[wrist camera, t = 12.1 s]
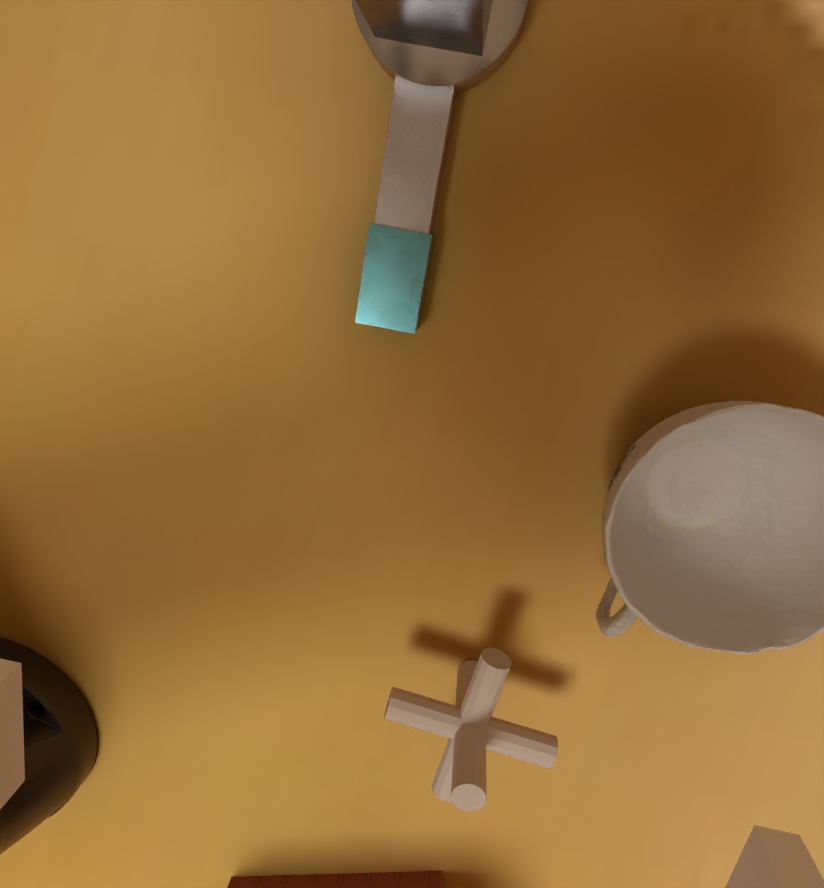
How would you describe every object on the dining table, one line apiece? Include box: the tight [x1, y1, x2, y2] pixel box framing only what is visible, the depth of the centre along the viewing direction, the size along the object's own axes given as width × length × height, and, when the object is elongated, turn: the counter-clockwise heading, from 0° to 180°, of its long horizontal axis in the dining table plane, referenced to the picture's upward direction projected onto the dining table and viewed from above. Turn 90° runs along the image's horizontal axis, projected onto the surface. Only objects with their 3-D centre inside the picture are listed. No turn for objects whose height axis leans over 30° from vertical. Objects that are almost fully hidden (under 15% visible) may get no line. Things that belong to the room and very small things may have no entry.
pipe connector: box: [384, 648, 558, 812], centre depth 37 cm, size 10×10×10 cm
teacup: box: [596, 401, 824, 654], centre depth 33 cm, size 15×12×8 cm
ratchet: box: [352, 0, 528, 334], centre depth 29 cm, size 8×20×7 cm, turn 170°
